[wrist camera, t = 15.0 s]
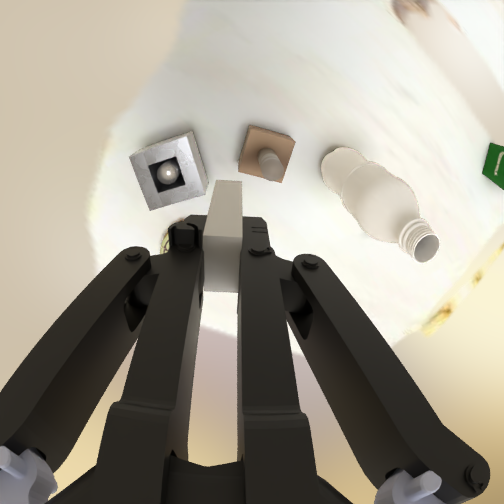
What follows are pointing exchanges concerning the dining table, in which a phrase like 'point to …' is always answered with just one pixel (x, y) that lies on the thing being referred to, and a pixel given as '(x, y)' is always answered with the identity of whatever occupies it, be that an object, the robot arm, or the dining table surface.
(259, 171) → the stand
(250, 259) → the robot arm
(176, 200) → the square steel tube
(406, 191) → the water bottle
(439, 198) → the dining table surface
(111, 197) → the dining table surface
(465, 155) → the dining table surface
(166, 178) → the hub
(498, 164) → the milk carton
